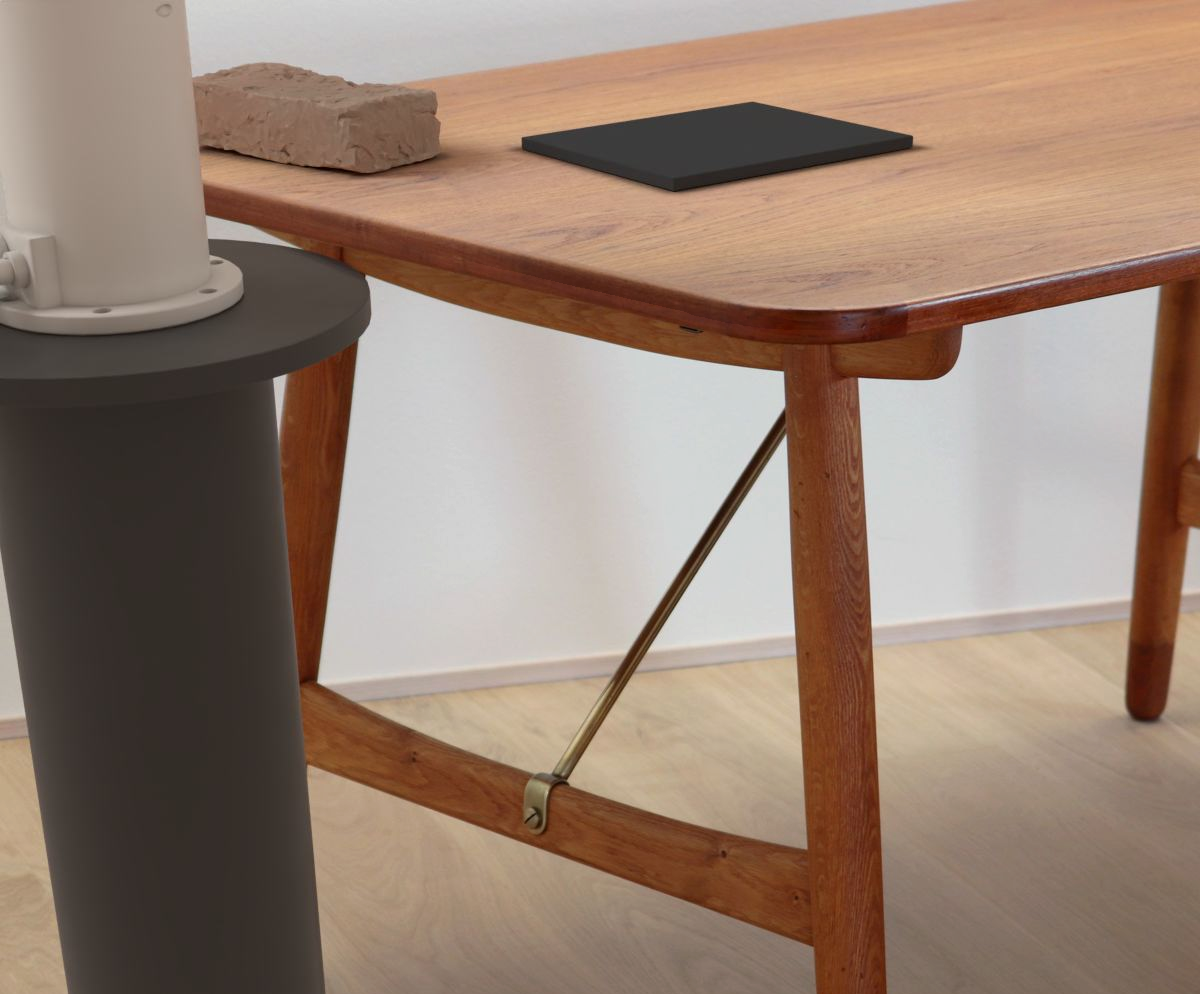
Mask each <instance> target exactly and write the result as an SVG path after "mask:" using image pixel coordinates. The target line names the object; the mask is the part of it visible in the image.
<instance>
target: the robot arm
mask: <svg viewBox="0 0 1200 994" xmlns="http://www.w3.org/2000/svg"><path fill="white" fill-rule="evenodd" d="M186 7H187V6H186V0H0V174H1V181H2V188H3V196H4V203H5V209H6V214H4V215H0V323H1V324H3V325H5V326H8V327H12V328H15V329H18V330H23V331H28V332H34V333H41V334H52V335H68V336H98V335H117V334H129V333H139V332H146V331H153V330H160V329H165V328H170V327H176V326H181V325H185V324H188V323H192V322H196V321H200V320H203V319H206V318H208V317H211V316H214V315H217V314H219V313H221V312H223V311H225V310H227V309H229V308H231V307H232V306H233V305H234V304H236V303H237V302H238V301H239V300H240V299H241V297H242V295H243V293H244V288H243V274H242V272H241V270H240V269H239V268H238V267H237V266H236V265H234V264H233V263H231V262H230V261H227V260H225V259H222V258H220V257H216V256H212V255H209V245H208V239H209V235H208V224H207V215H206V205H205V195H204V185H203V184H204V183H203V173H202V172H203V171H202V165H201V164H202V163H201V153H200V143H199V142H198V131H197V121H196V111H195V100H194V90H193V80H192V78H193V70H192V62H191V61H192V60H191V59H192V58H191V51H190V40H189V39H190V38H189V29H188V20H187V11H186V10H187V8H186Z"/></svg>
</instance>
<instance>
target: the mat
mask: <svg viewBox="0 0 1200 994" xmlns="http://www.w3.org/2000/svg"><path fill="white" fill-rule="evenodd" d="M913 147H914V136H913V135H912V134H908V133H903V132H898V131H894V130H889V129H884V128H879V127H874V126H869V125H865V124H860V123H855V122H851V121H846V120H841V119H836V118H832V117H828V116H823V115H818V114H813V113H808V112H804V111H800V110H795V109H790V108H785V107H780V106H776V105H771V104H768V103H767V104H766V103H762V102H757V101H747V102H746V101H745V102H740V103H734V104H727V105H721V106H714V107H708V108H707V107H706V108H700V109H696V110H695V109H694V110H689V111H688V110H687V111H682V112H681V111H680V112H675V113H670V114H663V115H656V116H651V117H650V116H649V117H642V118H637V119H632V120H631V119H630V120H624V121H618V122H611V123H605V124H598V125H592V126H591V125H590V126H585V127H579V128H572V129H566V130H559V131H551V132H546V133H540V134H533V135H527V136H526V135H525V136H521V149H522V150H524V151H528V152H531V153H534V154H539V155H543V156H545V157H550V158H552V159H557V160H560V161H564V162H568V163H571V164H574V165H579V166H582V167H584V168H588V169H593V170H596V171H600V172H603V173H606V174H611V175H615V176H617V177H621V178H624V179H628V180H632V181H636V182H639V183H643V184H647V185H650V186H653V187H657V188H660V189H664V190H668V191H672V192H677V191H683V190H689V189H694V188H699V187H704V186H709V185H715V184H721V183H726V182H732V181H736V180H742V179H748V178H755V177H759V176H760V177H761V176H764V175H771V174H777V173H780V172H786V171H793V170H798V169H803V168H808V167H809V168H810V167H814V166H820V165H824V164H831V163H835V162H842V161H847V160H853V159H858V158H863V157H864V158H865V157H868V156H869V157H870V156H875V155H879V154H886V153H890V152H897V151H902V150H906V149H912V148H913Z"/></svg>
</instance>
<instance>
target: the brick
mask: <svg viewBox="0 0 1200 994" xmlns="http://www.w3.org/2000/svg"><path fill="white" fill-rule="evenodd" d="M192 80H193V90H194V100H195V111H196V121H197V131H198V142H199V144H202V145H205V146H209V147H212V148H215V149H223V150H225V151H235V152H237V153H239V154H241V155H247V156H253V157H256V158H259V159H264V160H268V161H274V162H276V163H280V164H292V165H297V166H301V167H305V166H309V167H314V168H315V167H317V168H322V167H323V168H324V167H325V168H331V169H333V168H334V169H343V170H346V171H352V172H357V173H361V174H369V173H370V174H371V173H372V174H373V173H379V172H384V171H387V170H390V169H391V168H396V167H400V166H403V165H411V164H413V163H415V162H422V161H424V160H428V159H432V158H434V157H435V156H438V155H439V154H440V153H441V151H442V146H441V140H440V134H441V126H442V123H441V120H439V118H437V117H436V115H437V111H438V105H439V103H438V98H437V93H436V92H435V91H433V90H431V89H425V88H420V89H418V88H412V87H411V88H410V87H407V86H403V85H399V84H391V85H389V84H386V83H378V82H377V83H372V82H371V83H370V82H364V83H361V84H357V83H355V82H353V81H351V80H350V81H347V80H345V79H344V78H343V77H342V76H339V75H324V74H320V73H318V72H315V71H313V70H311V69H304V68H302V67H299V66H293V65H290V64H287V63H283V62H270V61H269V62H267V61H266V62H265V61H264V62H263V61H262V62H253V63H245V64H241V65H239V66H238V65H237V66H232V67H231V68H229V69H228V68H227V69H225V68H224V69H219V70H218V71H216V72H207V73H204V74H203V75H198V76H197V75H196V76H194V77H193V76H192Z"/></svg>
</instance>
